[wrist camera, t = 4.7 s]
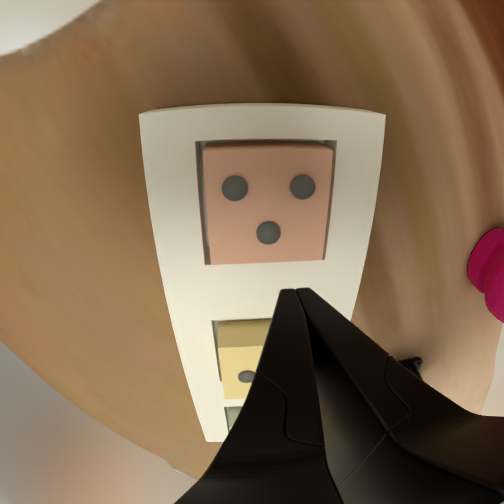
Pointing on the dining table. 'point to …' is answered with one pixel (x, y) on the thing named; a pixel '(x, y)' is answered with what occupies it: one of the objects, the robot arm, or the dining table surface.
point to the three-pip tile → (266, 200)
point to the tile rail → (251, 274)
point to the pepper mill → (489, 270)
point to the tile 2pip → (240, 354)
